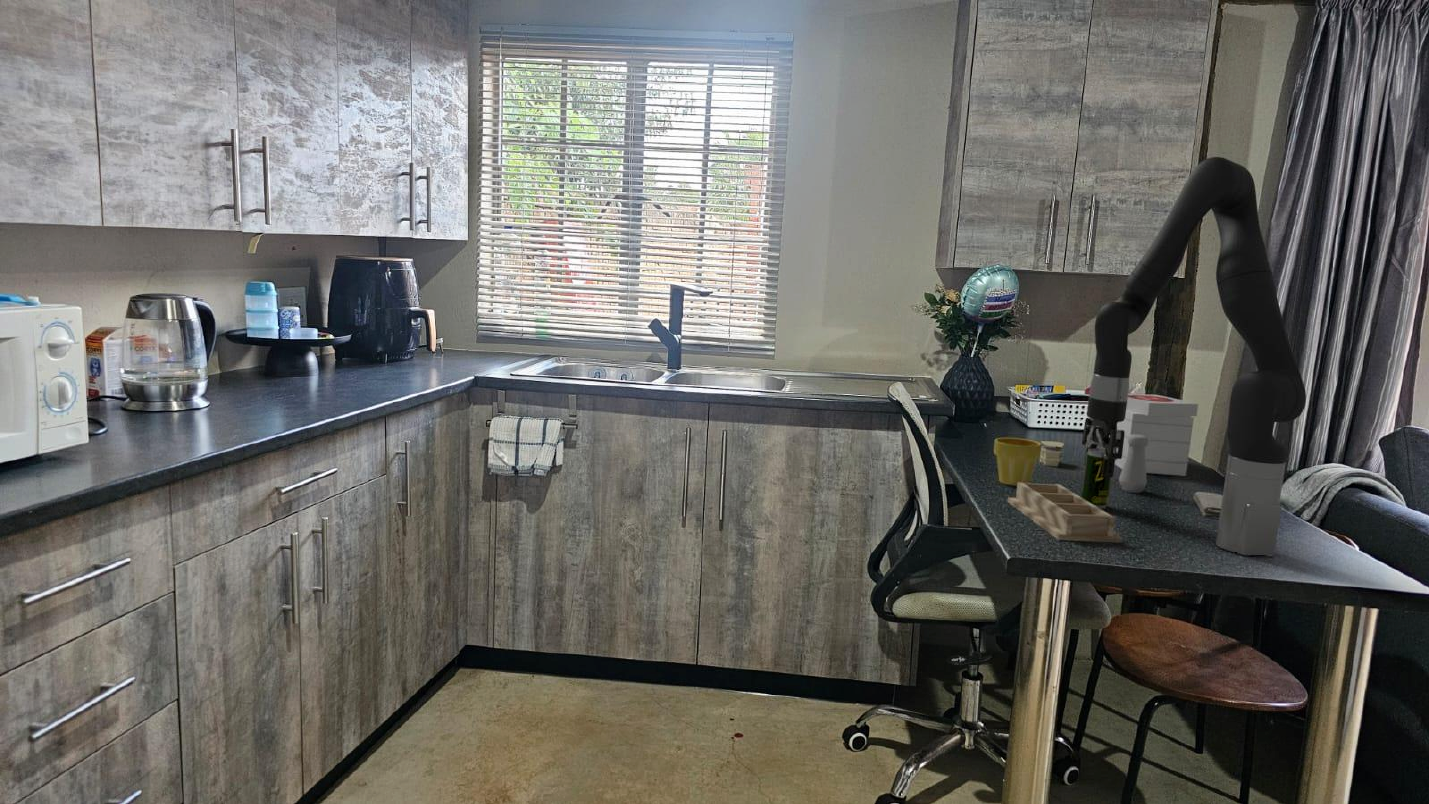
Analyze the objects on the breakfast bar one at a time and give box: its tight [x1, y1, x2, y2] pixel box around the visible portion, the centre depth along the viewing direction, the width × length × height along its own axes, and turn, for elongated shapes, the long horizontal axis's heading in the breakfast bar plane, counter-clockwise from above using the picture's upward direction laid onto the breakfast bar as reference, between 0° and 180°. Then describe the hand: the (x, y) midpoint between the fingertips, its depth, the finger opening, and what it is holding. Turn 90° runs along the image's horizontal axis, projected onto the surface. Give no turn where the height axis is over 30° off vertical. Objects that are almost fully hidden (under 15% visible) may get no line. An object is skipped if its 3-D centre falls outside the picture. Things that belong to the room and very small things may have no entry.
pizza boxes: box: [1114, 393, 1199, 477], centre depth 258 cm, size 19×30×18 cm, turn 176°
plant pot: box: [993, 437, 1042, 487], centre depth 224 cm, size 10×10×10 cm
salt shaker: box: [1118, 434, 1148, 494], centre depth 224 cm, size 6×6×13 cm
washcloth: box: [1192, 491, 1223, 520], centre depth 211 cm, size 12×18×3 cm, turn 162°
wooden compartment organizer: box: [1007, 482, 1123, 544], centre depth 193 cm, size 27×12×4 cm, turn 3°
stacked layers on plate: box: [1039, 440, 1065, 467], centre depth 250 cm, size 10×9×6 cm
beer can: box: [1080, 447, 1112, 510], centre depth 207 cm, size 5×5×12 cm
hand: (1098, 472), depth 207 cm, fingers open, 8 cm apart
